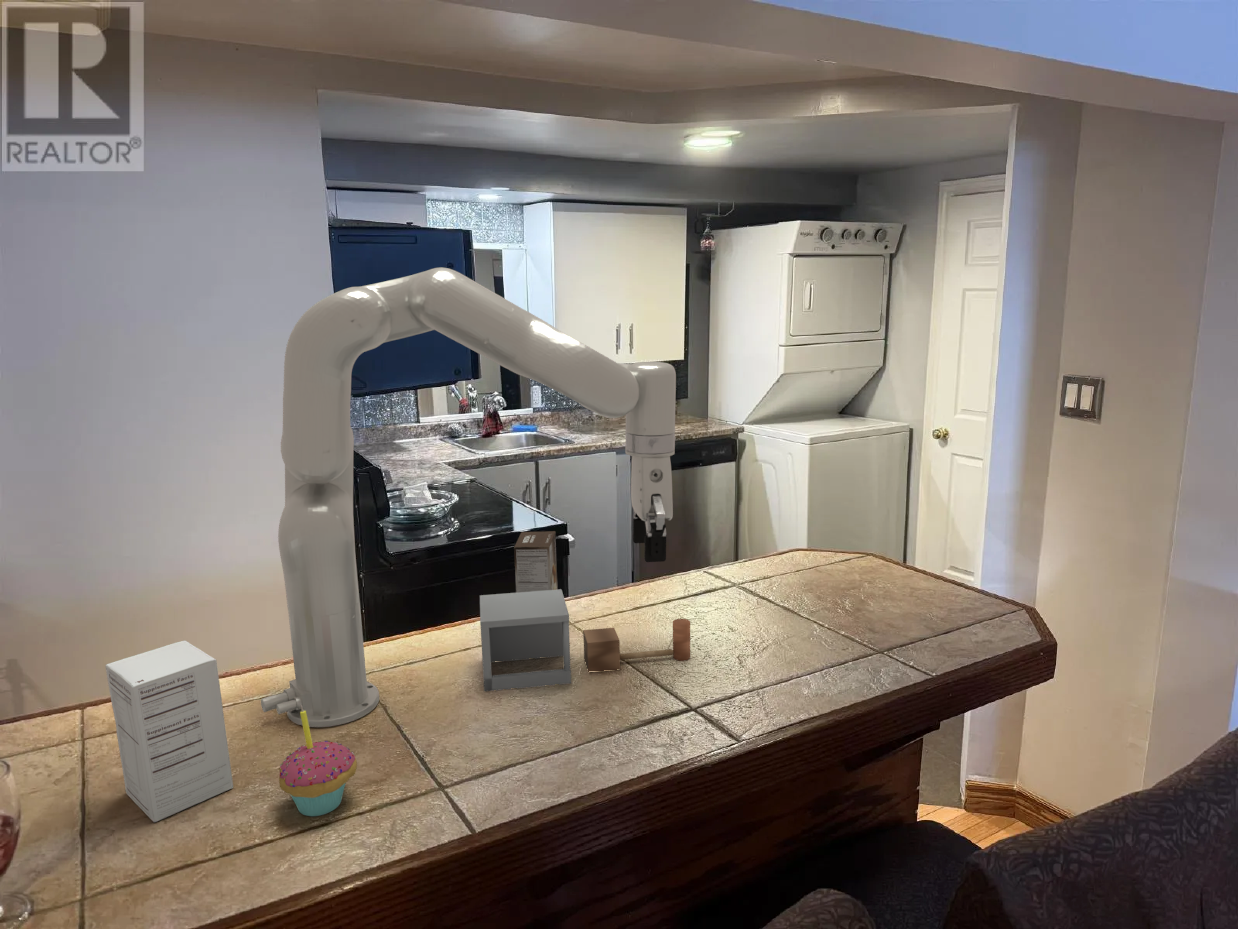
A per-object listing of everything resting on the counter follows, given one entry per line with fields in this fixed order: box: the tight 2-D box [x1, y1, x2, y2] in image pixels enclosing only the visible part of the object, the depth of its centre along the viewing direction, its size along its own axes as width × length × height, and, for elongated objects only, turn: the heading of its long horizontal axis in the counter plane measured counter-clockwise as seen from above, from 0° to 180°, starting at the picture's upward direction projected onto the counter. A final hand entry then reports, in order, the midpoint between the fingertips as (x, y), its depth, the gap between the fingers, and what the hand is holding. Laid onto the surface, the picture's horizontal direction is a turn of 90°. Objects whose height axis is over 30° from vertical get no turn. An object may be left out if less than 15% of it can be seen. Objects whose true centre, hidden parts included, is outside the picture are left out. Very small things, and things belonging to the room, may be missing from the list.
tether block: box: [582, 618, 691, 672], centre depth 132 cm, size 17×5×6 cm, turn 100°
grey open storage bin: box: [479, 588, 572, 692], centre depth 129 cm, size 13×11×11 cm
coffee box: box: [513, 530, 558, 593], centre depth 146 cm, size 9×6×16 cm
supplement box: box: [105, 640, 234, 823], centre depth 98 cm, size 10×9×17 cm
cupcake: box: [278, 705, 358, 817], centre depth 96 cm, size 9×8×12 cm
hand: (648, 551), depth 130 cm, fingers open, 9 cm apart
